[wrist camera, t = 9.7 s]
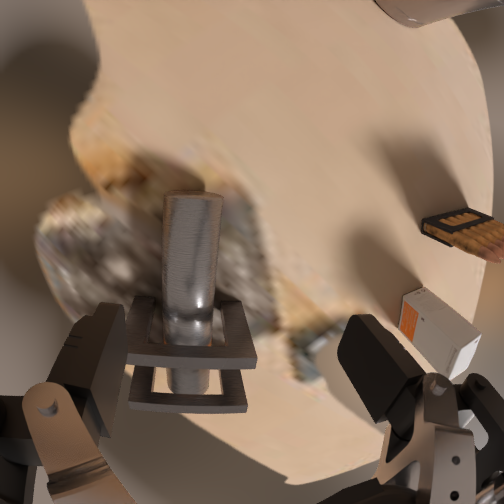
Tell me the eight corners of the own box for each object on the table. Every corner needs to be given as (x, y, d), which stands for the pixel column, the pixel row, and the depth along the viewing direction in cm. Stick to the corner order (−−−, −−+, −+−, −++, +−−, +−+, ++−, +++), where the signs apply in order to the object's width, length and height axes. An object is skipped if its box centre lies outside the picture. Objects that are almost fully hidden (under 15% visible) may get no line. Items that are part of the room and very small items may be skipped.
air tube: (167, 188, 22) (159, 198, 18) (221, 192, 23) (226, 202, 19) (168, 367, 29) (166, 397, 25) (207, 368, 30) (210, 398, 26)
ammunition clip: (469, 207, 29) (533, 234, 18) (468, 220, 30) (531, 249, 19) (421, 219, 28) (498, 255, 17) (420, 233, 29) (494, 273, 18)
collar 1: (135, 295, 25) (115, 351, 17) (241, 301, 27) (257, 357, 20) (136, 306, 26) (118, 363, 18) (239, 311, 28) (255, 368, 20)
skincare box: (401, 294, 31) (461, 347, 20) (424, 285, 32) (483, 331, 21) (396, 330, 34) (446, 384, 23) (418, 320, 34) (468, 368, 23)
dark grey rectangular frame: (139, 342, 27) (127, 401, 19) (235, 347, 29) (247, 405, 22) (140, 351, 28) (130, 408, 20) (234, 355, 30) (246, 412, 22)
